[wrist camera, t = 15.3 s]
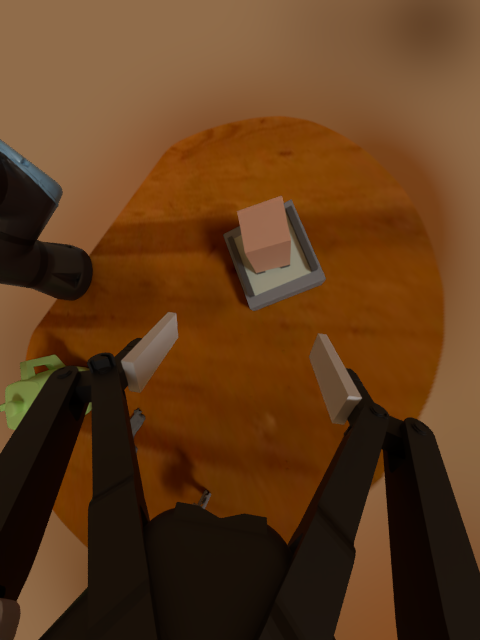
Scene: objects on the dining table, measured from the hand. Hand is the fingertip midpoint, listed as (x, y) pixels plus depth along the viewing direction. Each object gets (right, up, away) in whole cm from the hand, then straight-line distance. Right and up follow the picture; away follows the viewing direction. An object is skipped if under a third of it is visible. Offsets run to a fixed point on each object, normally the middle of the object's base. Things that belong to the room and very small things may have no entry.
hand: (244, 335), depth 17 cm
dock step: (+6, +13, +20) cm, 25 cm away
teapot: (-46, -18, +33) cm, 59 cm away
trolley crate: (+5, +13, +16) cm, 22 cm away
